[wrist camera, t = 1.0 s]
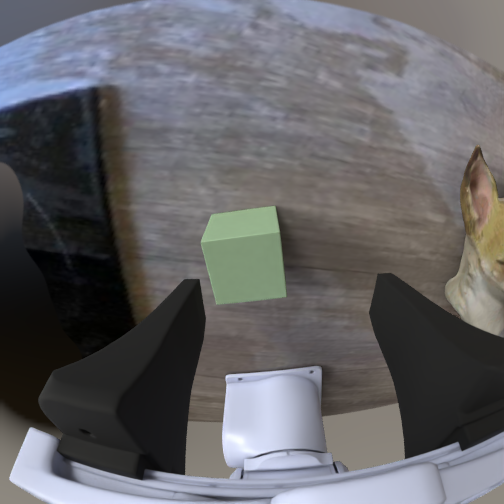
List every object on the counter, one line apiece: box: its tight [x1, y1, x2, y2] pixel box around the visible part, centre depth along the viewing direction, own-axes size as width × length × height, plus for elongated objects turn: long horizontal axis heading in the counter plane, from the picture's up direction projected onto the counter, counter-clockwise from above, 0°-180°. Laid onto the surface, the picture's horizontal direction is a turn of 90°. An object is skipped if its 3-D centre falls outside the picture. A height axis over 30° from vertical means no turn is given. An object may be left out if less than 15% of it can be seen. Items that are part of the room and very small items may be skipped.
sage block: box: [201, 206, 287, 305], centre depth 19 cm, size 4×4×4 cm
